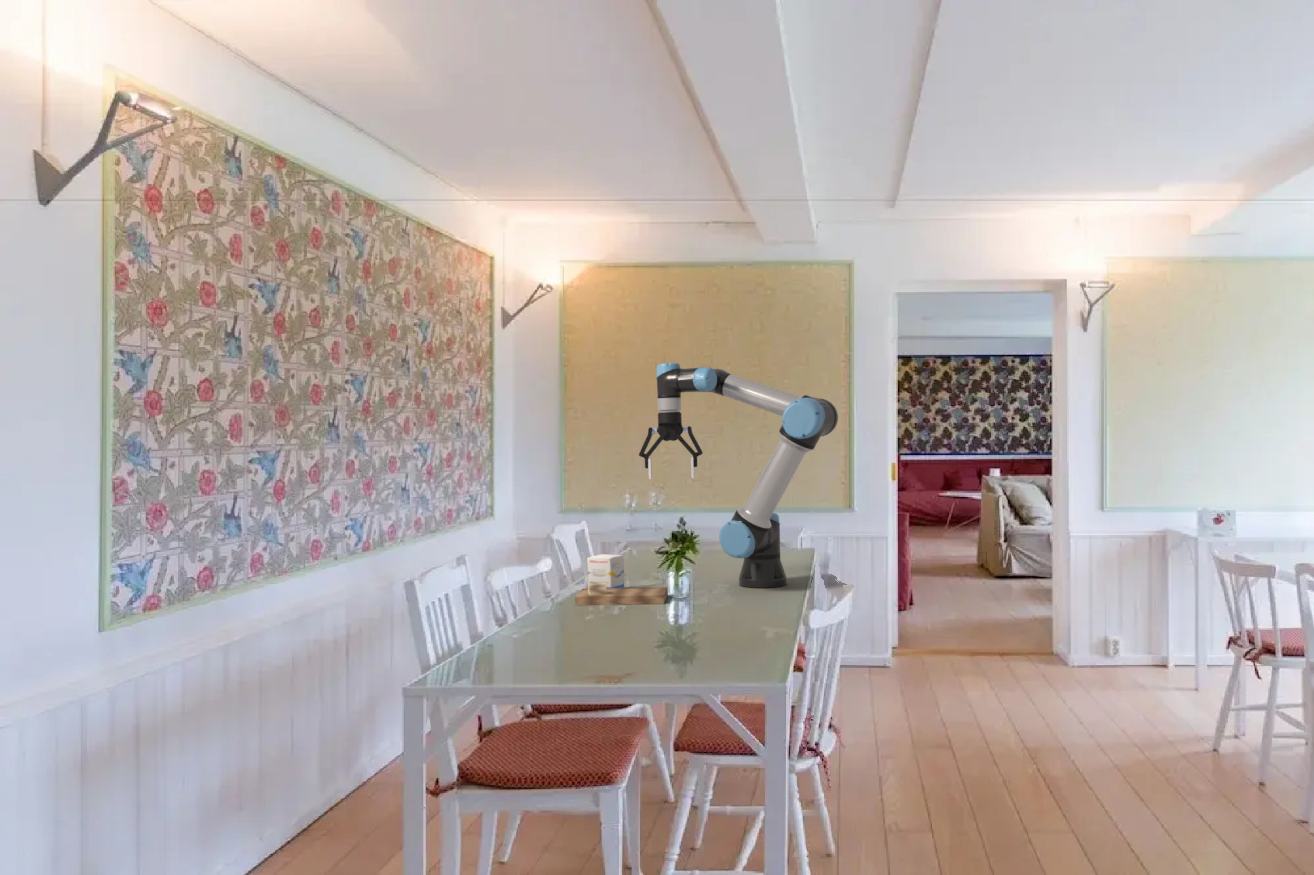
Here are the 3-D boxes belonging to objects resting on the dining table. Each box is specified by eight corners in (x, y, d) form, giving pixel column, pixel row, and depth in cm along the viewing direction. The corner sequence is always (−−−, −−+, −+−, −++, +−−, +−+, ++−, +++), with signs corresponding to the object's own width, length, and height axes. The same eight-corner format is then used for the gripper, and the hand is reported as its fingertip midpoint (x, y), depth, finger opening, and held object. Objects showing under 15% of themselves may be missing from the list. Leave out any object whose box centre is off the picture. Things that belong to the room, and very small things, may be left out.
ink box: (625, 591, 318) (624, 554, 318) (611, 596, 311) (610, 558, 311) (602, 590, 322) (601, 553, 322) (587, 594, 315) (586, 556, 315)
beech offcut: (605, 592, 303) (604, 582, 303) (606, 594, 299) (606, 584, 299) (588, 593, 302) (588, 583, 302) (589, 595, 298) (589, 585, 298)
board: (667, 595, 309) (667, 586, 308) (663, 603, 295) (663, 594, 295) (583, 596, 311) (582, 588, 311) (575, 605, 297) (575, 596, 297)
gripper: (709, 410, 326) (711, 476, 326) (632, 413, 328) (634, 478, 329) (708, 410, 319) (710, 477, 319) (629, 412, 321) (631, 479, 321)
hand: (671, 478), depth 324 cm, fingers open, 13 cm apart
